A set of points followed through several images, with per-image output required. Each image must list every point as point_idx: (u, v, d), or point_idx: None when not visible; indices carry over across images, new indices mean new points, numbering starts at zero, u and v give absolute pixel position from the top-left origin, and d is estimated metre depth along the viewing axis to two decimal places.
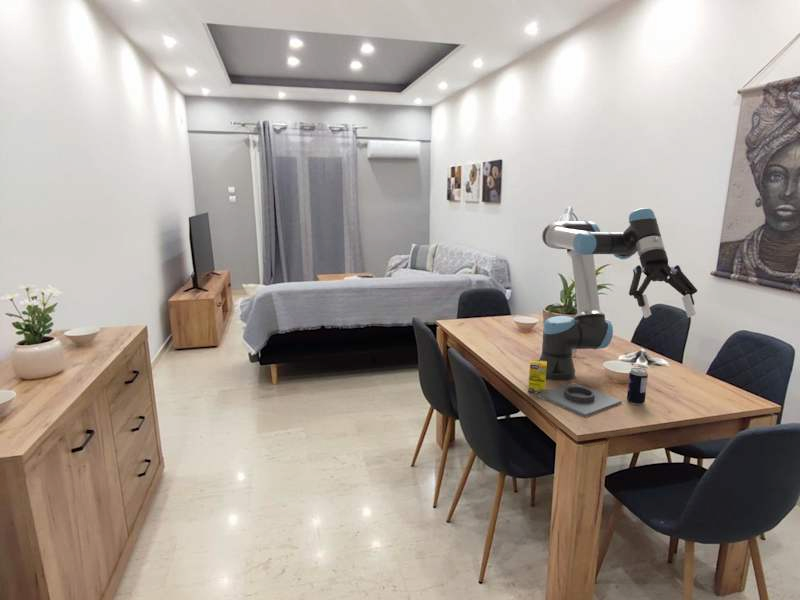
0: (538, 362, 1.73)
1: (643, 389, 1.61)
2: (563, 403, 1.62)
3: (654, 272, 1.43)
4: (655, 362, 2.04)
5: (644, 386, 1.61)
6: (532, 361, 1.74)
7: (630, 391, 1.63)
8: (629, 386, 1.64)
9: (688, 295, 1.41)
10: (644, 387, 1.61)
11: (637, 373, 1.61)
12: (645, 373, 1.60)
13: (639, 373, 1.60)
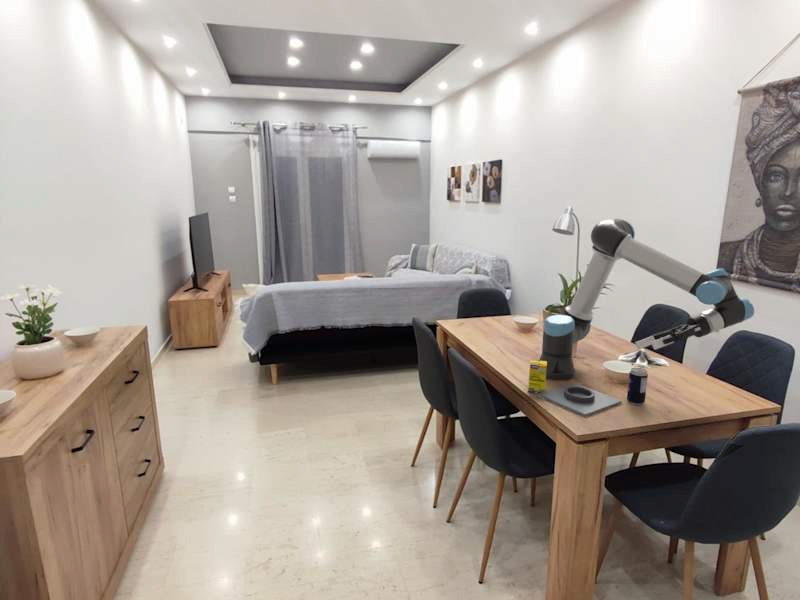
0: (538, 362, 1.73)
1: (643, 389, 1.61)
2: (563, 403, 1.62)
3: None
4: (655, 362, 2.04)
5: (644, 386, 1.61)
6: (532, 361, 1.74)
7: (630, 391, 1.63)
8: (629, 386, 1.64)
9: None
10: (644, 387, 1.61)
11: (637, 373, 1.61)
12: (645, 373, 1.60)
13: (639, 373, 1.60)
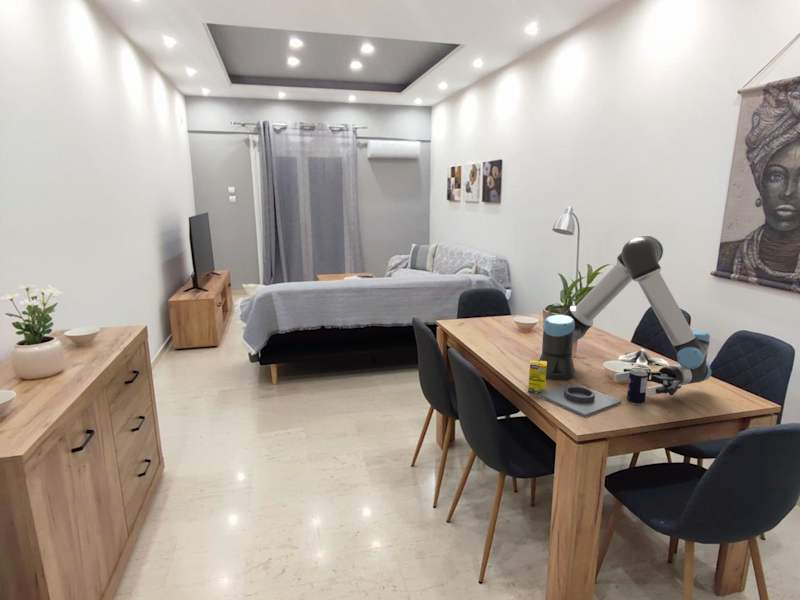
0: (538, 362, 1.73)
1: (643, 389, 1.61)
2: (563, 403, 1.62)
3: None
4: (655, 362, 2.04)
5: (644, 386, 1.61)
6: (532, 361, 1.74)
7: (630, 391, 1.63)
8: (629, 386, 1.64)
9: None
10: (644, 387, 1.61)
11: (637, 373, 1.61)
12: (645, 373, 1.60)
13: (639, 373, 1.60)
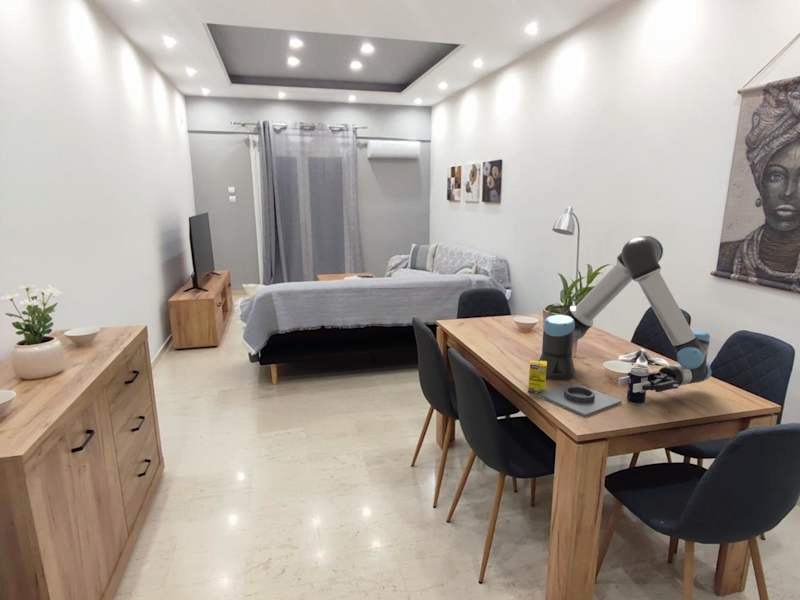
0: (538, 362, 1.73)
1: None
2: (563, 403, 1.62)
3: None
4: (655, 362, 2.04)
5: None
6: (532, 361, 1.74)
7: (630, 391, 1.63)
8: (629, 386, 1.64)
9: None
10: None
11: (637, 373, 1.61)
12: (645, 373, 1.60)
13: (639, 373, 1.60)
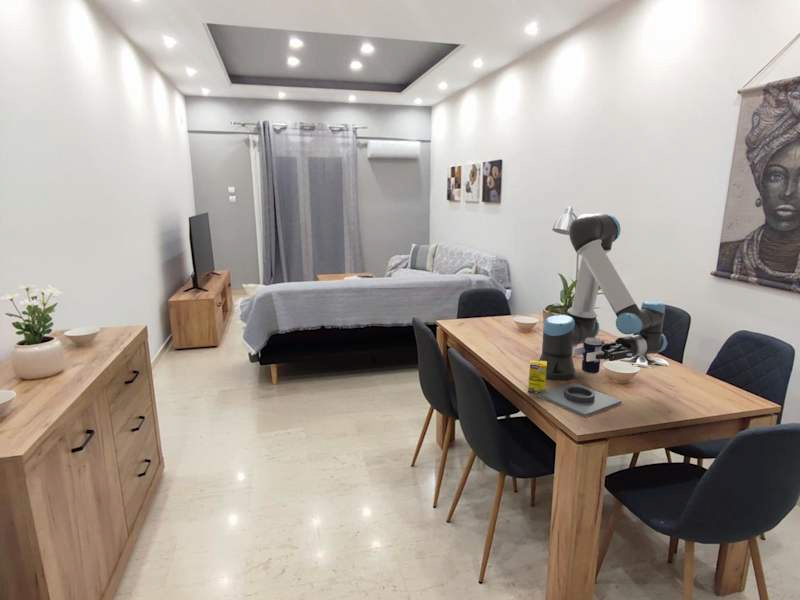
0: (538, 362, 1.73)
1: None
2: (563, 403, 1.62)
3: None
4: (655, 362, 2.04)
5: None
6: (532, 361, 1.74)
7: (584, 360, 1.62)
8: (583, 356, 1.62)
9: None
10: None
11: (591, 342, 1.59)
12: (599, 342, 1.59)
13: (593, 342, 1.59)
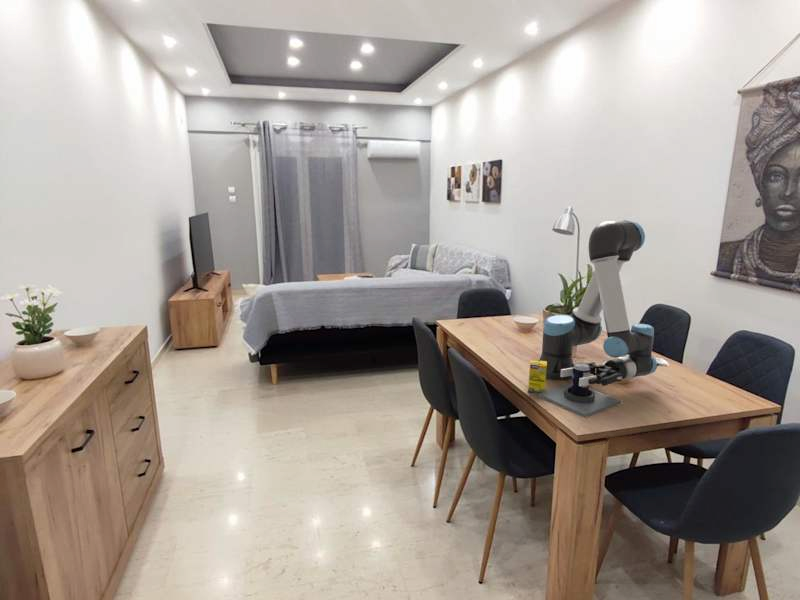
0: (538, 362, 1.73)
1: None
2: (563, 403, 1.62)
3: None
4: None
5: None
6: (532, 361, 1.74)
7: (573, 386, 1.65)
8: (572, 381, 1.65)
9: None
10: None
11: (579, 368, 1.63)
12: (587, 368, 1.62)
13: (581, 368, 1.62)
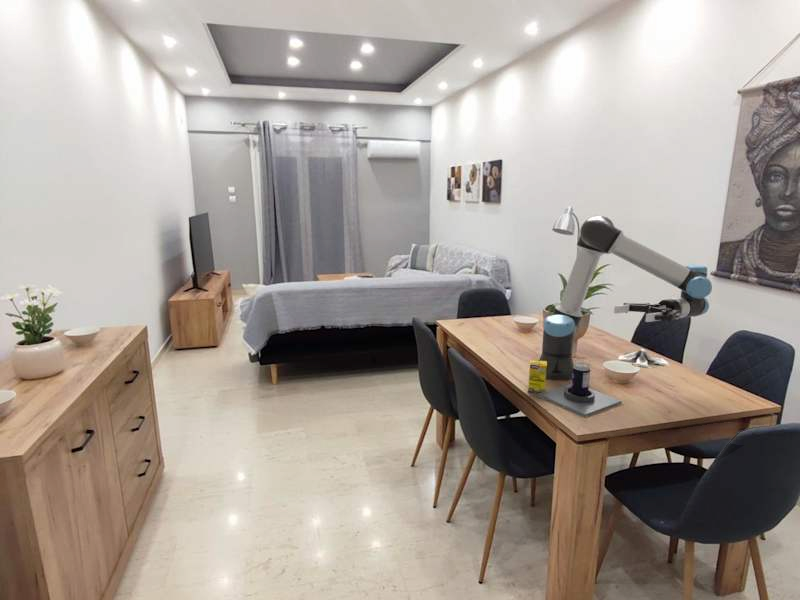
0: (538, 362, 1.73)
1: (586, 384, 1.63)
2: (563, 403, 1.62)
3: None
4: (655, 362, 2.04)
5: (586, 381, 1.63)
6: (532, 361, 1.74)
7: (573, 386, 1.65)
8: (572, 381, 1.65)
9: (627, 311, 1.76)
10: (586, 382, 1.63)
11: (579, 368, 1.62)
12: (587, 368, 1.62)
13: (581, 368, 1.62)
